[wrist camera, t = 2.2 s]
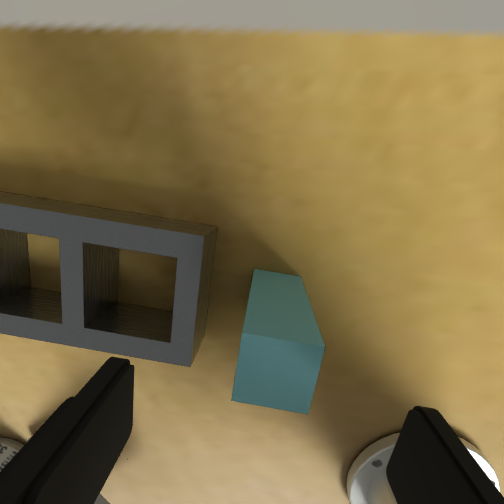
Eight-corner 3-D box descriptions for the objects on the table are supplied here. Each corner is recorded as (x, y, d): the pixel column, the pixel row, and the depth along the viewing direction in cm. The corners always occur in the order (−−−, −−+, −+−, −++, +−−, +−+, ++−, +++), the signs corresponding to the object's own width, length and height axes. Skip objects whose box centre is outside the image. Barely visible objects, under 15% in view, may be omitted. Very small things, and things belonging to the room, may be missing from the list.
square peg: (291, 318, 21) (308, 414, 12) (247, 310, 21) (231, 400, 12) (300, 276, 20) (325, 346, 11) (254, 268, 20) (242, 332, 11)
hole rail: (204, 334, 21) (190, 367, 18) (-69, 287, 22) (-141, 308, 18) (217, 226, 19) (204, 236, 15) (-89, 177, 20) (-176, 174, 16)
